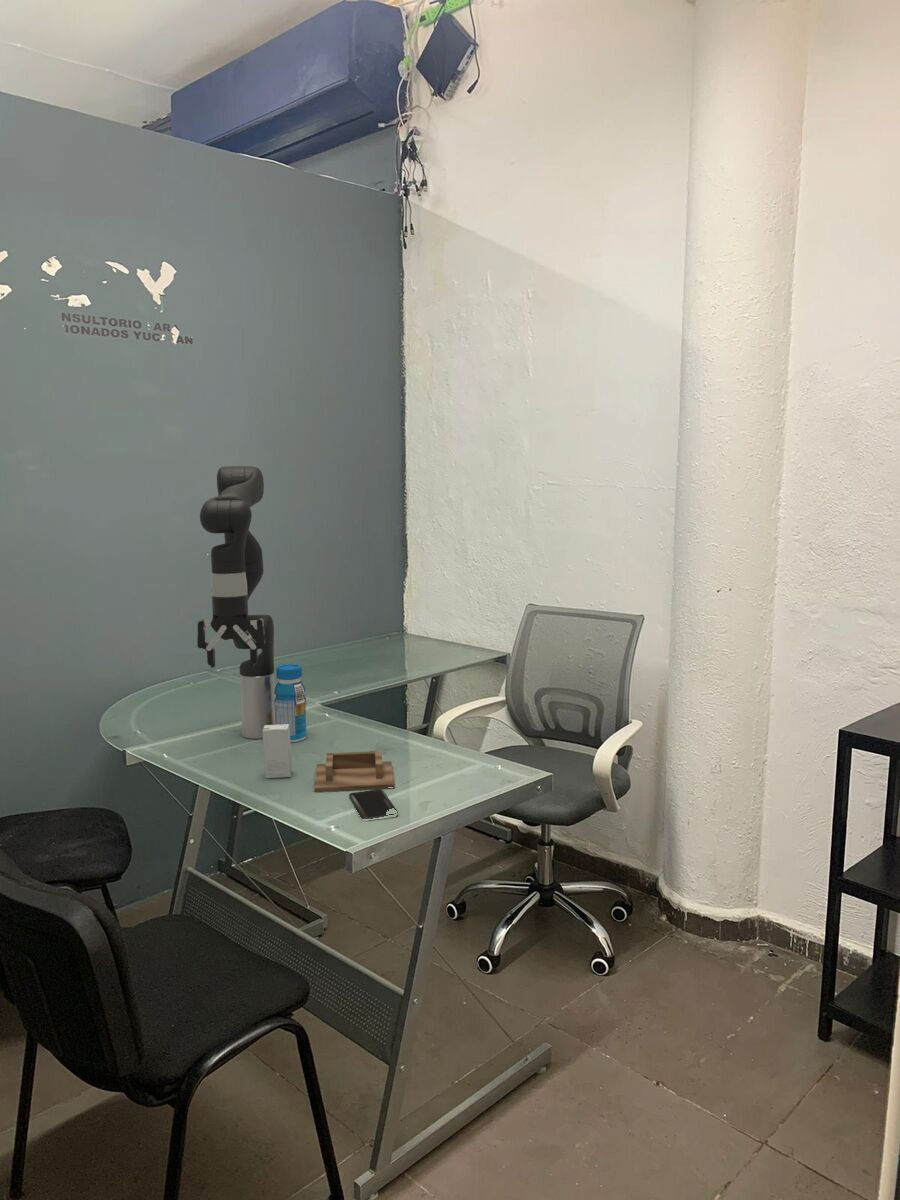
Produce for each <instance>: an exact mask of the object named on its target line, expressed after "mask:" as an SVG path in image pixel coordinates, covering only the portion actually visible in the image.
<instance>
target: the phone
mask: <svg viewBox="0 0 900 1200" xmlns="http://www.w3.org/2000/svg"><path fill="white" fill-rule="evenodd" d="M348 799H349V800H350V802H351V804H352V806H353V805H354V806H353V807H354V809H355V808H356V809H355V811H356V810H357V811H356V813H357V812H358V813H359V814H358V813H357V814H358V816H359V815H360V816H359V818H360V817H361V818H362V819H373V818H379V817H384V816H388V815H386V812H387V810H388V811H389V809H392V808H394V809H395V810H396V811H397V813H398V814H399V811H398V810H397V808H396V807H395V806H394V804H393V803H392V801H391V800H390V798H389V797H388V796H387V794H386V793H385V790H384V789H371V790H362V791H356V792H351V793H349V794H348ZM395 814H396V813H395ZM389 815H394V814H389ZM361 818H360V819H361Z"/></svg>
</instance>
